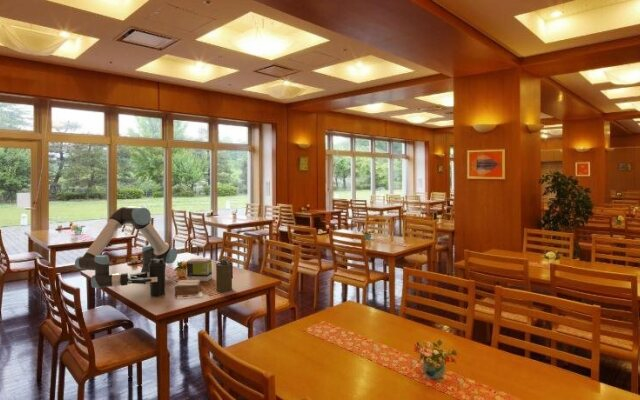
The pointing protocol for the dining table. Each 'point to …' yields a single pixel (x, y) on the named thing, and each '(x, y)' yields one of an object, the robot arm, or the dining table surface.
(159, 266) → the water bottle
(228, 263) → the canister
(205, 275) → the tea box
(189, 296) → the page
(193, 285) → the plinth
